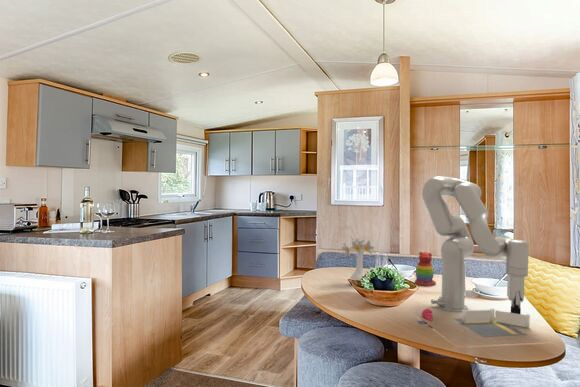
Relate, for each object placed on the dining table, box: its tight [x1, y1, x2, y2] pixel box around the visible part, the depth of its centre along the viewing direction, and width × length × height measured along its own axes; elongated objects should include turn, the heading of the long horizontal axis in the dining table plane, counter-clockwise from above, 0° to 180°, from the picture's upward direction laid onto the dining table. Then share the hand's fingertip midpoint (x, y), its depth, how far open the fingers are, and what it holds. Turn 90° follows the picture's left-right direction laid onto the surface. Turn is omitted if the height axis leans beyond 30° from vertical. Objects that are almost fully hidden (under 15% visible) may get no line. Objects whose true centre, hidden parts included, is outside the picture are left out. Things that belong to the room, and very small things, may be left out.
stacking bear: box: [414, 251, 437, 287], centre depth 211 cm, size 11×10×18 cm
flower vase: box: [341, 238, 375, 281], centre depth 205 cm, size 13×18×25 cm
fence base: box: [454, 308, 528, 338], centre depth 148 cm, size 28×18×6 cm, turn 99°
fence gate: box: [494, 309, 531, 328], centre depth 150 cm, size 12×1×5 cm, turn 60°
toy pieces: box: [417, 308, 433, 329], centre depth 152 cm, size 12×11×4 cm
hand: (515, 316), depth 151 cm, fingers closed
